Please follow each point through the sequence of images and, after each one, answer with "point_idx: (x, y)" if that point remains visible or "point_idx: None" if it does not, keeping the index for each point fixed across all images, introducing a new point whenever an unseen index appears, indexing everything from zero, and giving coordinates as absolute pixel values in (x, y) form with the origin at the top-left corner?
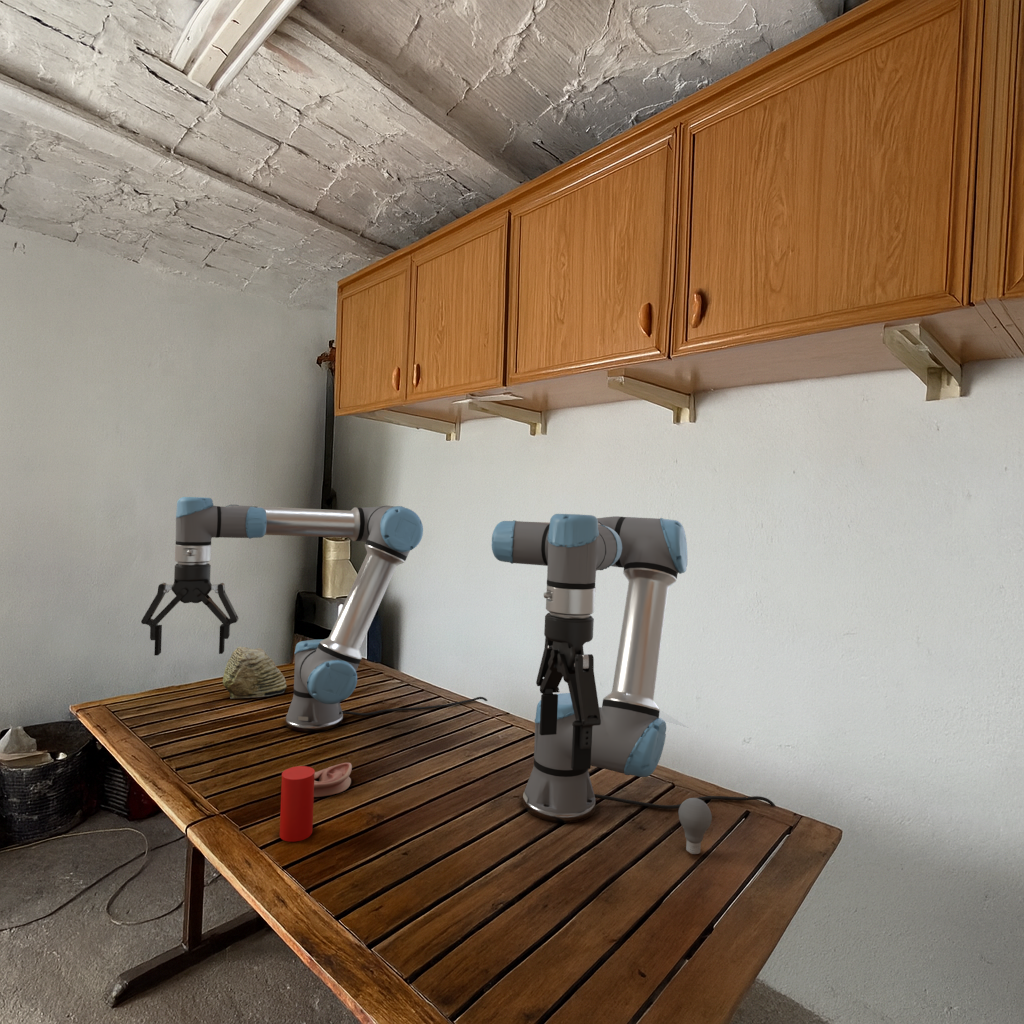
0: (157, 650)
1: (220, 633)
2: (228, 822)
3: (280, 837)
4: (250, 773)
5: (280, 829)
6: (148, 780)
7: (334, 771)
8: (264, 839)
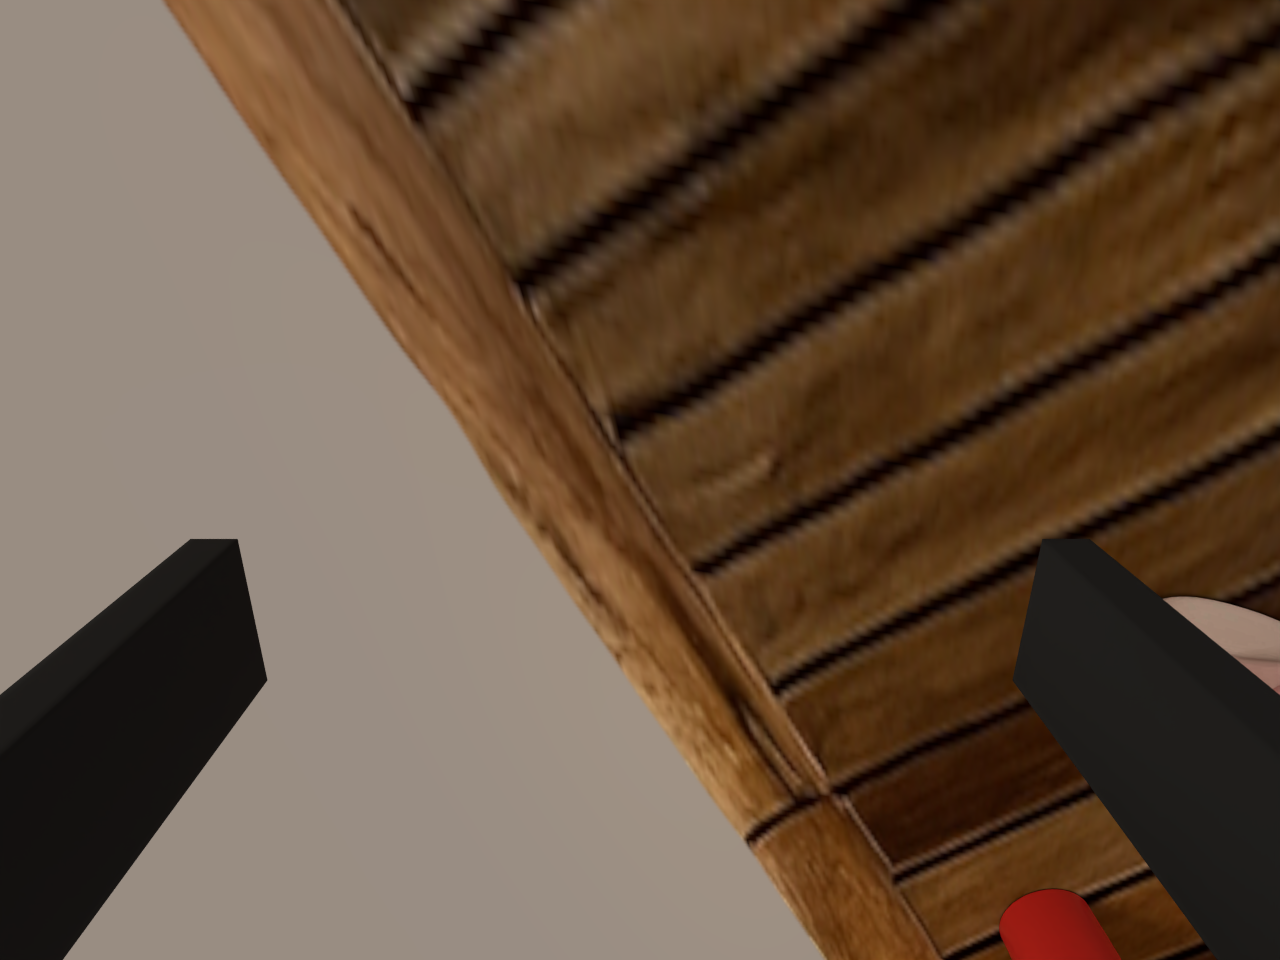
0: (227, 726)
1: (1215, 935)
2: (860, 843)
3: (1001, 936)
4: (932, 522)
5: (1010, 954)
6: (531, 520)
7: (1274, 688)
8: (957, 931)
